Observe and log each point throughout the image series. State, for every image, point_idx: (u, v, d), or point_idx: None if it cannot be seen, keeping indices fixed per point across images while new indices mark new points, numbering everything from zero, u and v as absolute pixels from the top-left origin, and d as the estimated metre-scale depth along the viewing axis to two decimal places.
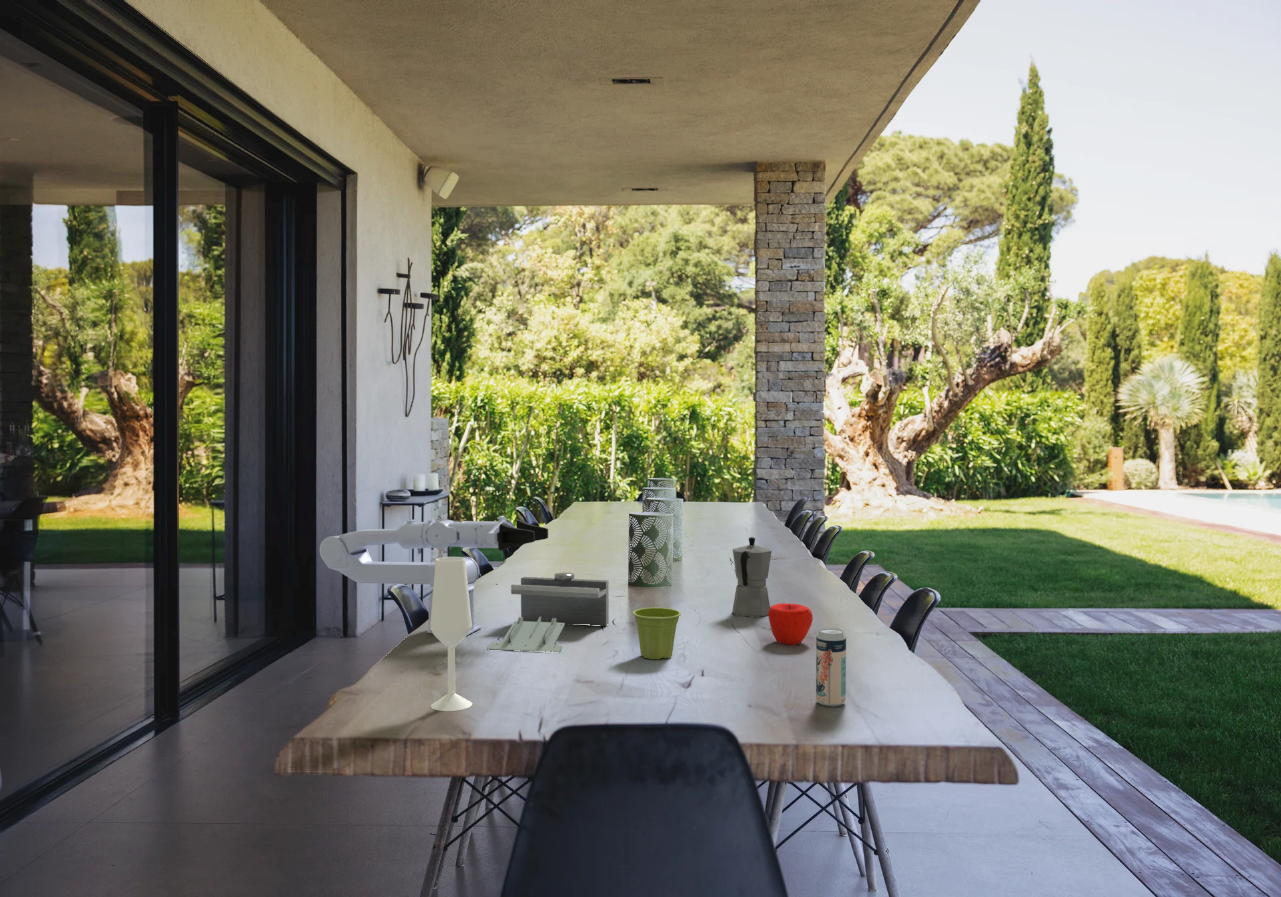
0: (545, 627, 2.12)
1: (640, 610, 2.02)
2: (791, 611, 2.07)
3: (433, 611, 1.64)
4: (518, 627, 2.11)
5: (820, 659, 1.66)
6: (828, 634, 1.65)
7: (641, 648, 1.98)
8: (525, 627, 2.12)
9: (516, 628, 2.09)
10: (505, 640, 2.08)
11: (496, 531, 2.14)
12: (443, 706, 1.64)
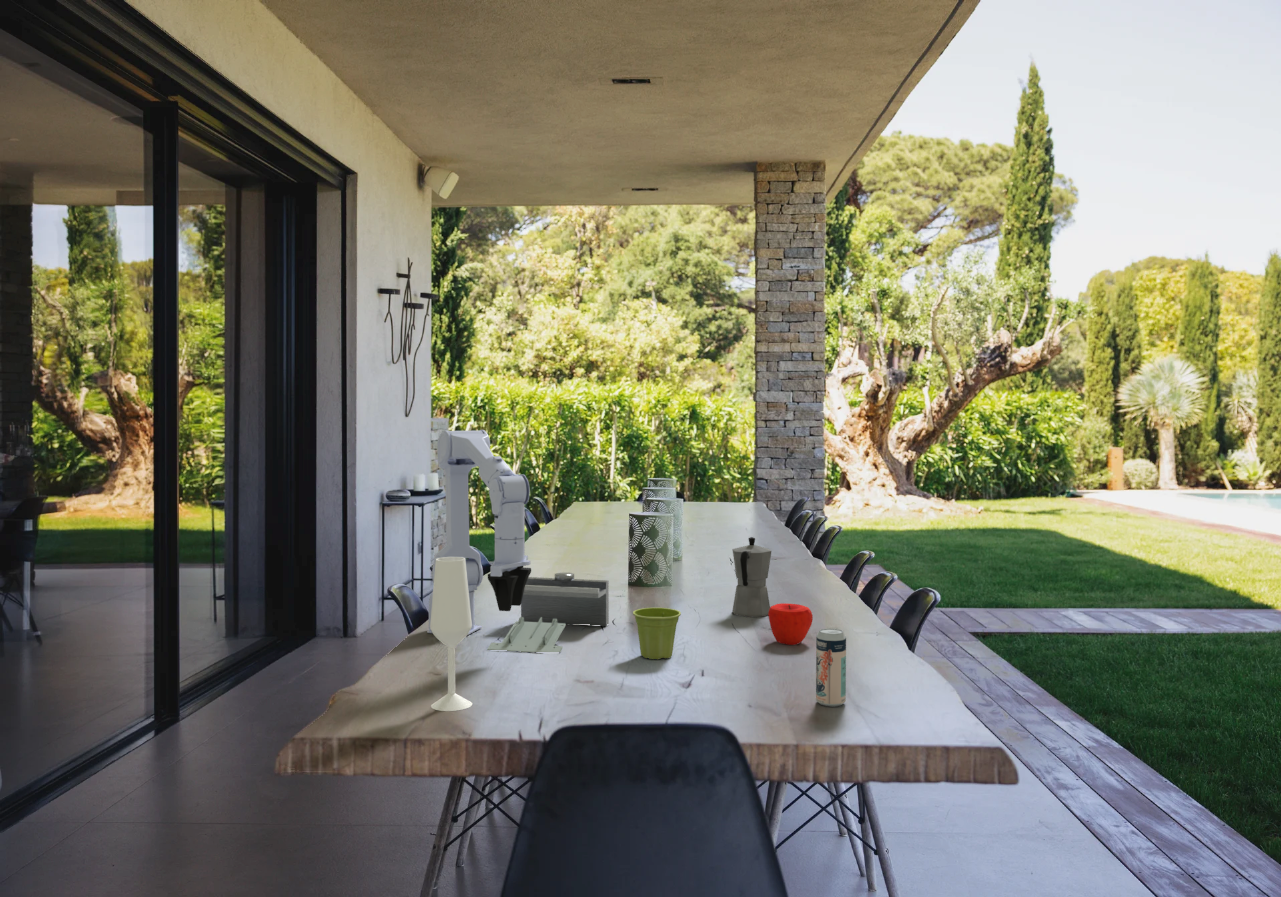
0: (546, 628, 2.11)
1: (640, 610, 2.02)
2: (791, 611, 2.07)
3: (433, 611, 1.64)
4: (518, 628, 2.10)
5: (820, 659, 1.66)
6: (828, 634, 1.65)
7: (641, 648, 1.98)
8: (526, 627, 2.12)
9: (517, 629, 2.09)
10: (506, 640, 2.07)
11: None
12: (443, 706, 1.64)
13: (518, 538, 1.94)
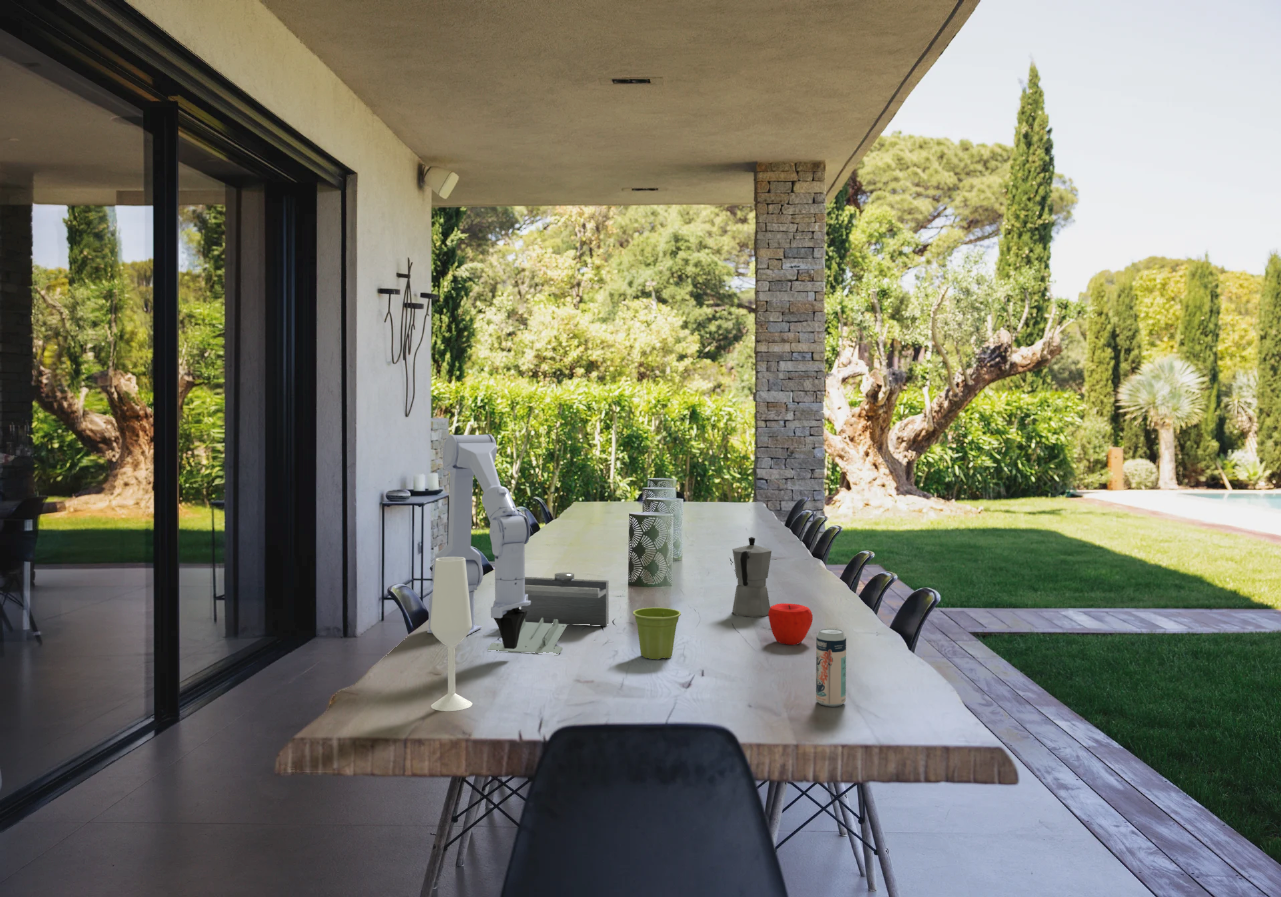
0: (547, 628, 2.11)
1: (640, 610, 2.02)
2: (791, 611, 2.07)
3: (433, 611, 1.64)
4: None
5: (820, 659, 1.66)
6: (828, 634, 1.65)
7: (641, 648, 1.98)
8: (527, 628, 2.11)
9: None
10: None
11: None
12: (443, 706, 1.64)
13: (518, 579, 1.94)
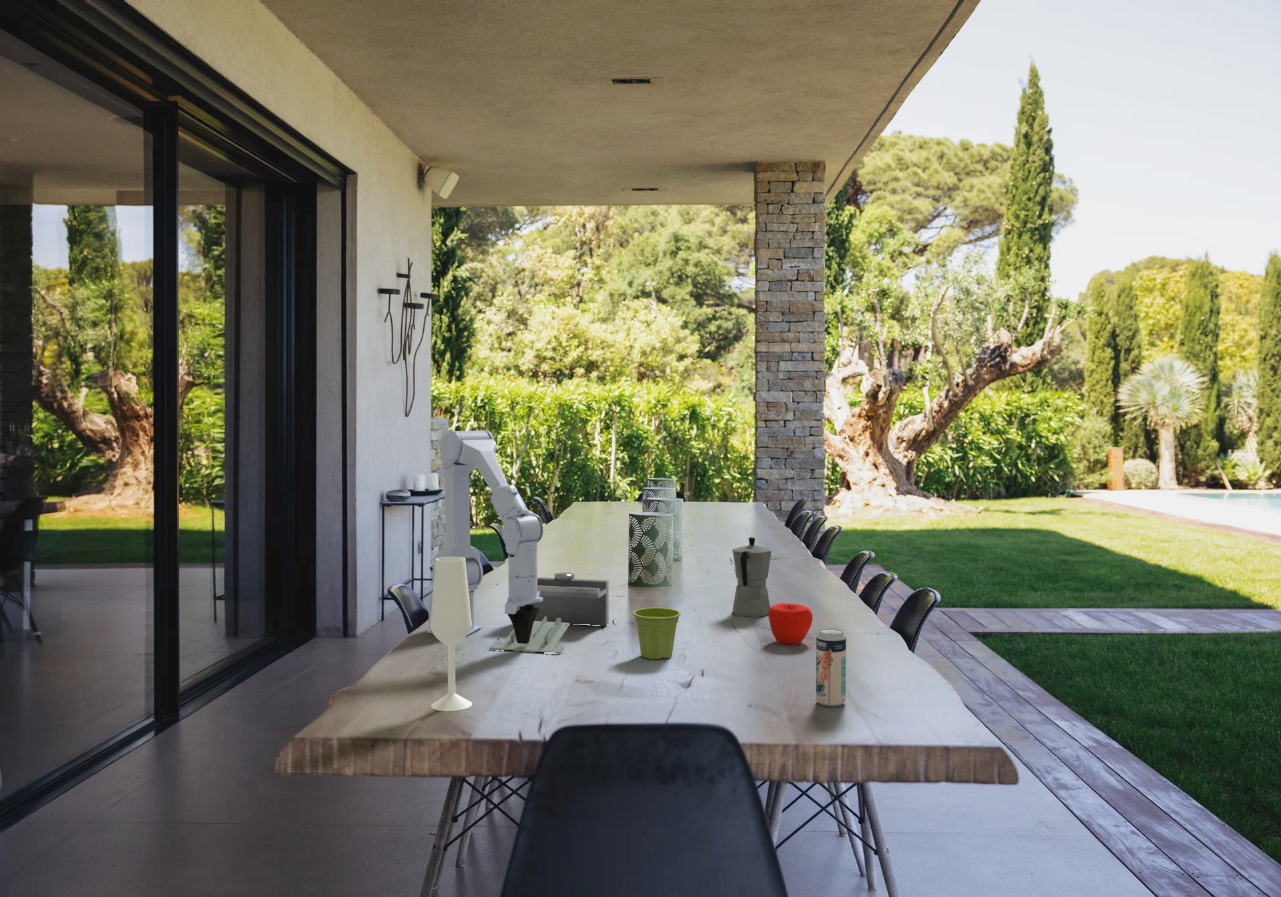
0: (550, 627, 2.11)
1: (640, 610, 2.02)
2: (791, 611, 2.07)
3: (433, 611, 1.64)
4: None
5: (820, 659, 1.66)
6: (828, 634, 1.65)
7: (641, 648, 1.98)
8: None
9: None
10: (509, 639, 2.07)
11: None
12: (443, 706, 1.64)
13: (531, 576, 2.01)
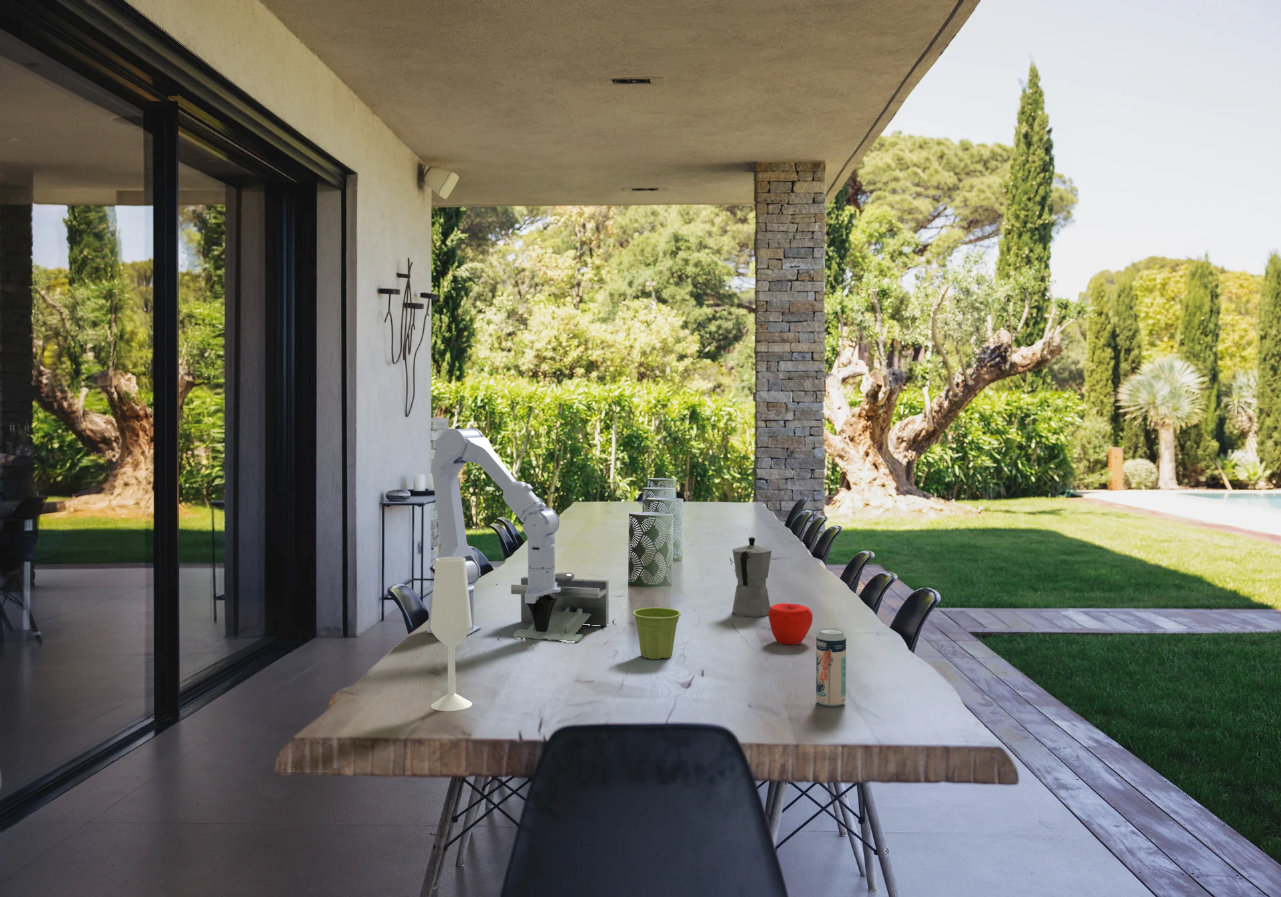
0: (571, 617, 2.21)
1: (640, 610, 2.02)
2: (791, 611, 2.07)
3: (433, 611, 1.64)
4: None
5: (820, 659, 1.66)
6: (828, 634, 1.65)
7: (641, 648, 1.98)
8: (553, 616, 2.22)
9: None
10: (532, 628, 2.18)
11: None
12: (443, 706, 1.64)
13: (549, 567, 2.12)
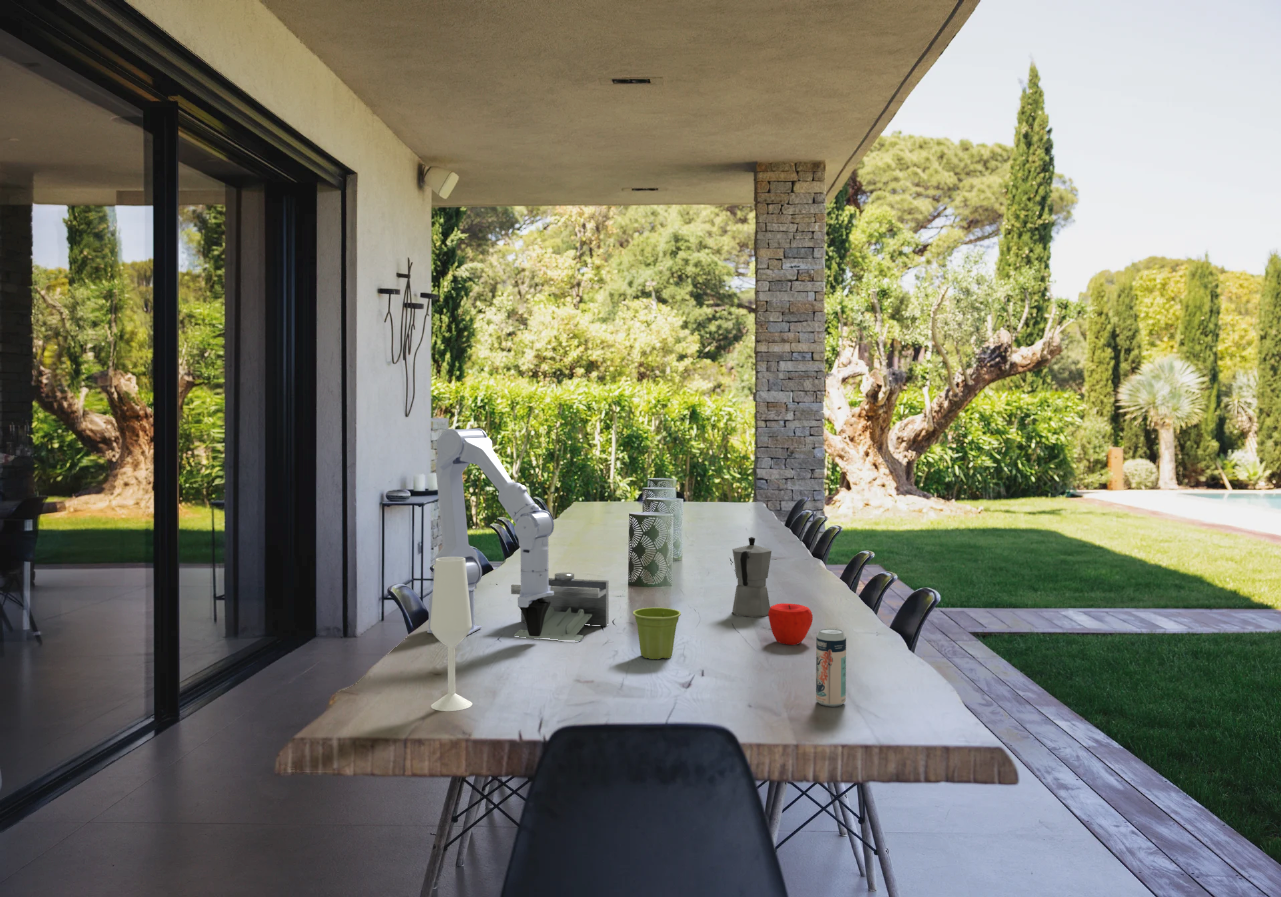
0: (573, 618, 2.21)
1: (640, 610, 2.02)
2: (791, 611, 2.07)
3: (433, 611, 1.64)
4: (546, 617, 2.21)
5: (820, 659, 1.66)
6: (828, 634, 1.65)
7: (641, 648, 1.98)
8: (554, 617, 2.23)
9: None
10: None
11: None
12: (443, 706, 1.64)
13: (543, 571, 2.08)
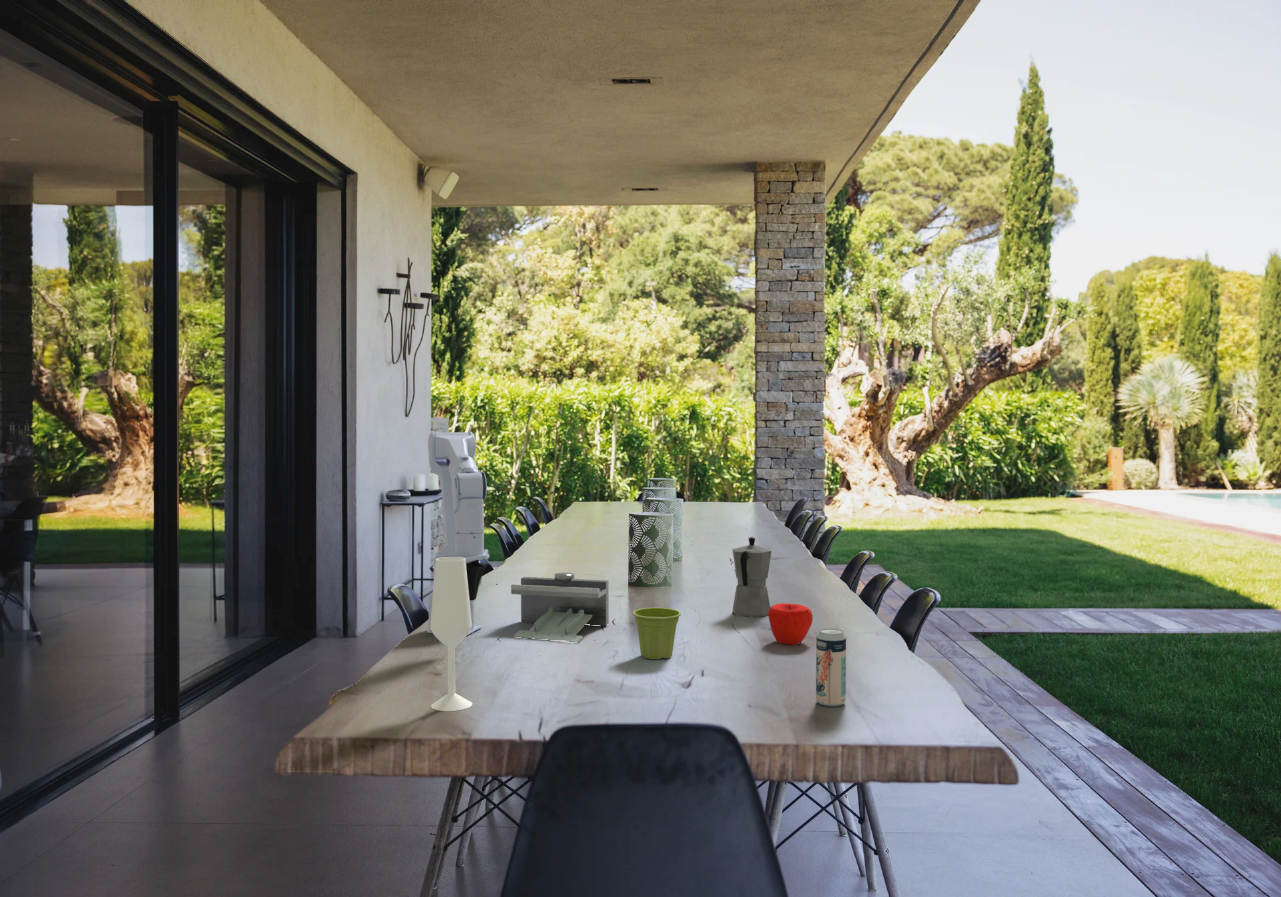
0: None
1: (640, 610, 2.02)
2: (791, 611, 2.07)
3: (433, 611, 1.64)
4: (547, 617, 2.21)
5: (820, 659, 1.66)
6: (828, 634, 1.65)
7: (641, 648, 1.98)
8: (555, 617, 2.22)
9: (544, 618, 2.19)
10: (533, 629, 2.18)
11: (466, 561, 2.01)
12: (443, 706, 1.64)
13: (477, 532, 2.03)
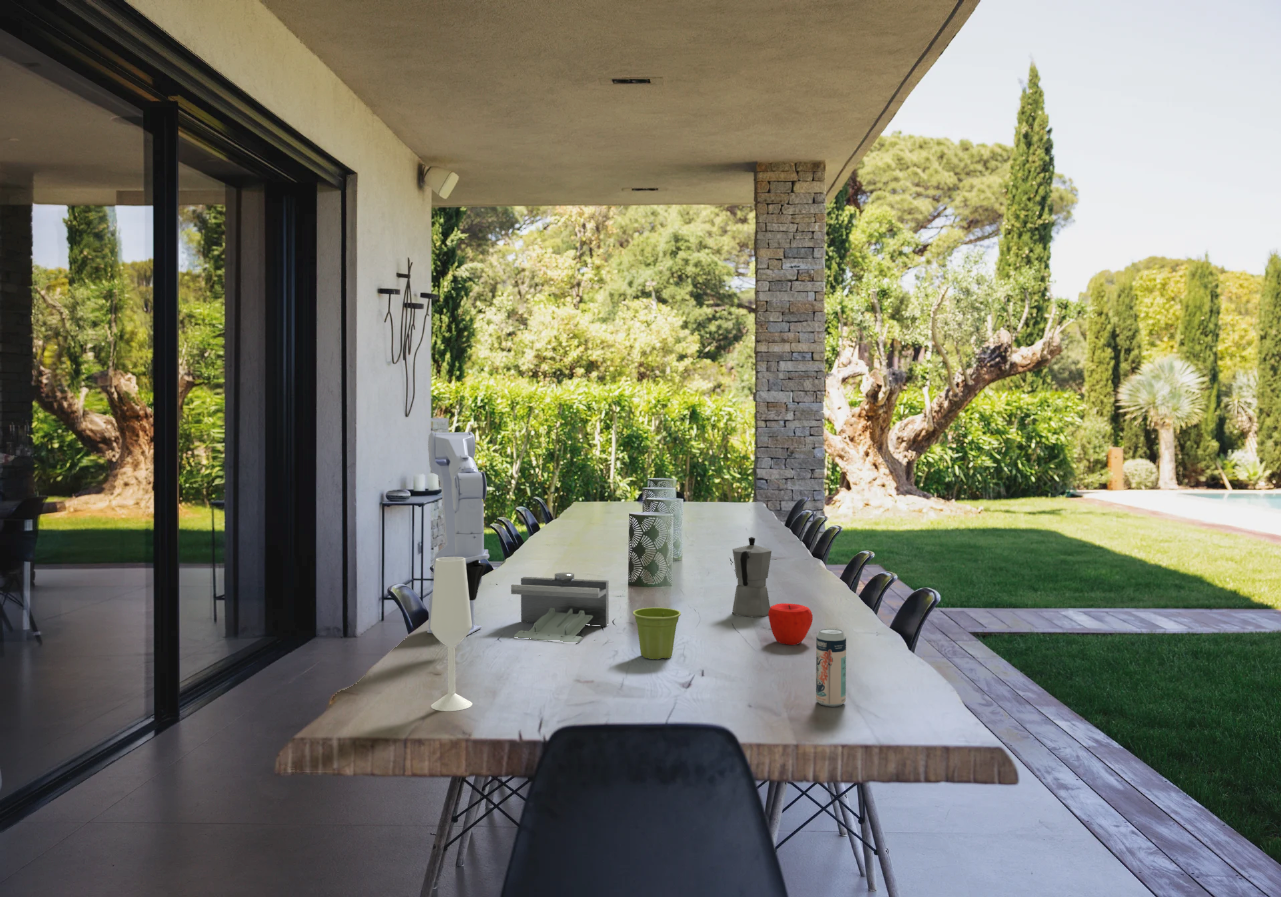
0: None
1: (640, 610, 2.02)
2: (791, 611, 2.07)
3: (433, 611, 1.64)
4: (547, 618, 2.20)
5: (820, 659, 1.66)
6: (828, 634, 1.65)
7: (641, 648, 1.98)
8: (555, 618, 2.21)
9: (545, 618, 2.19)
10: (533, 629, 2.18)
11: (466, 561, 2.01)
12: (443, 706, 1.64)
13: (477, 532, 2.03)
